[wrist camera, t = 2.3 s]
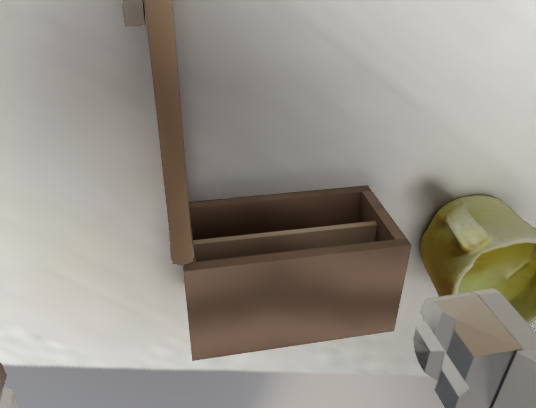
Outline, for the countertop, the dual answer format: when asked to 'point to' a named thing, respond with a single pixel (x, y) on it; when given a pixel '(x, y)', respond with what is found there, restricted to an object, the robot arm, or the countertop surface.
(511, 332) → the robot arm
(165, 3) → the door
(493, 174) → the countertop surface
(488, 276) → the mug
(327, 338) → the cabinet
